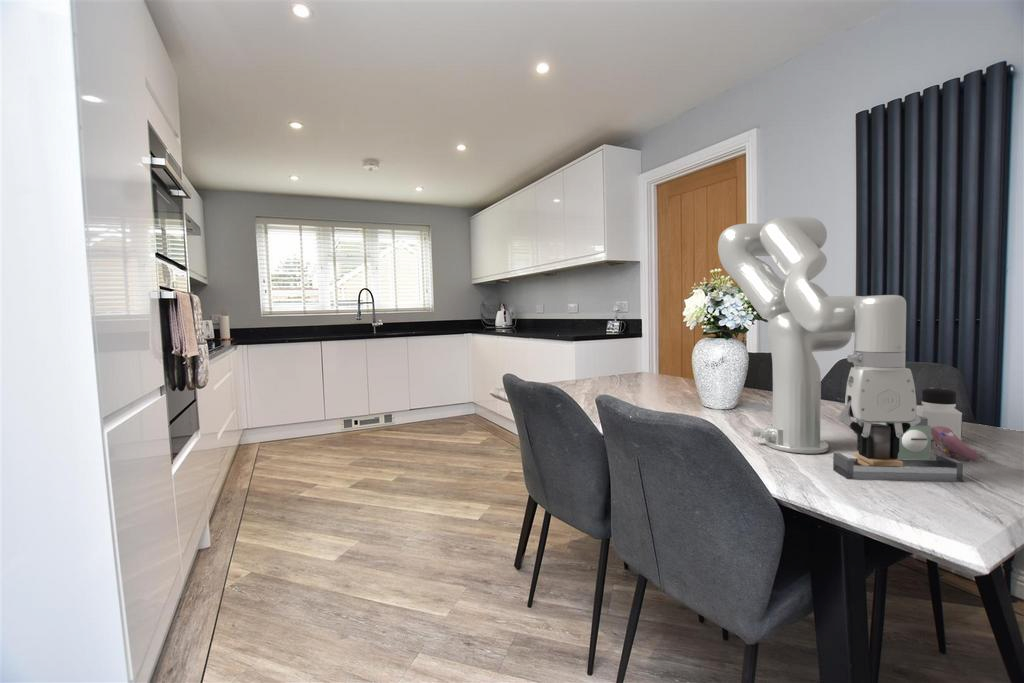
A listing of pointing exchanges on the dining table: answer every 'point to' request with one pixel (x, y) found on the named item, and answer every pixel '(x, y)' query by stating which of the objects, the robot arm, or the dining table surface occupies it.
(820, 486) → the dining table surface
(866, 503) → the dining table surface
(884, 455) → the carriage
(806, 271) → the robot arm
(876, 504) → the dining table surface
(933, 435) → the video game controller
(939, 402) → the medicine bottle
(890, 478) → the track
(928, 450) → the gauge cabinet
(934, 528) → the dining table surface
